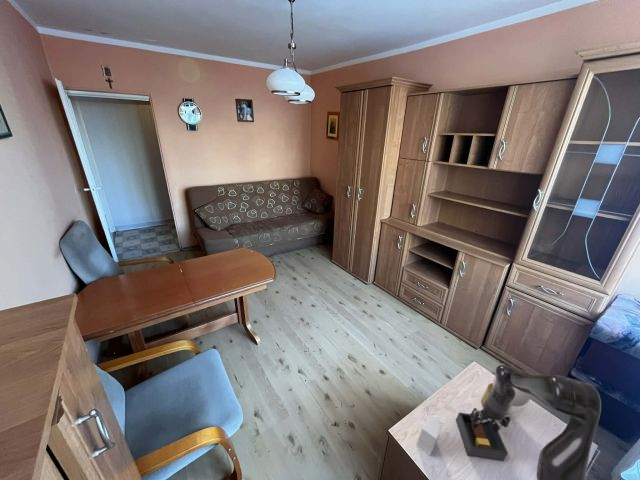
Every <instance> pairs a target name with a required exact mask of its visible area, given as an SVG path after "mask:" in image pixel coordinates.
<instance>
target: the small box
mask: <svg viewBox="0 0 640 480" xmlns="http://www.w3.org/2000/svg"><path fill="white" fill-rule="evenodd" d="M443 425H444V424H443V422H441V421H440V420H438V419H437V418H436V417H434V416H432V415H431V414H430V413H428V414H427V415H426V418H425V420H424V423H423V425H422V427H421V431H420V434H419V436H418V439H417V442H416V444H415V446H416V447H417V448H419V449H420V450H421V451H422V452H424V454H427V456H429V457H431V455H432V453H433V450H434V448H435V445H436V443H437V441H438V438H439V436H440V433H441V430H442V428H443Z"/></svg>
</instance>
